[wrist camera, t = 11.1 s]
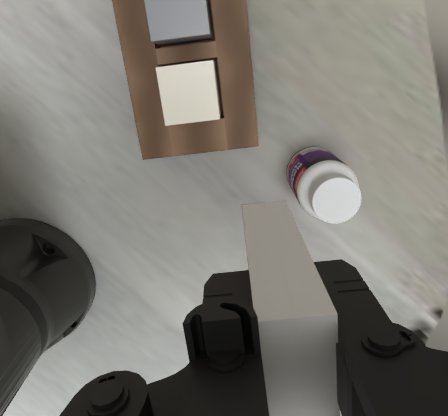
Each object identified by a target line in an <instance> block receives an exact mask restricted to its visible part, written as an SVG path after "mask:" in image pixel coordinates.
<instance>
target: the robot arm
mask: <svg viewBox="0 0 448 416" xmlns="http://www.w3.org/2000/svg"><path fill="white" fill-rule="evenodd" d="M242 214H243V223H244V232H245V242H246V251H247V260H248V269H249V270H246V271H236V272H226V273H217V274H213V275H212V276H211V277H210V278H209V280H208V281H207V282H206V283H205V285H204V295H203V297H204V298H203V304H202V305H199V306H197V307H195V308H194V309H193V310H192V311H191V312H190V313H189V314H187V316H186V318H185V320H184V322H183V328H184V333H185V339H186V344H187V350H188V355H189V361H190V362H189V364H188V365H187V366H186V367H185V368H183V369H182V370H180V371H179V372H177V373H176V374H174V375H171V376H169V377H167V378H164V379H161V380H159V381H156V382H153V383H150V384H146V381H145V380H144V379H143V378H142V377H141V376H140V375H139V374H137V373H134V372H130V371H113V372H110V373H107V374H104V375H101V376H99V377H97V378H95V379H94V380H92V381H90V382H89V383H87V384H86V385H85V386H84V387H83V388H82V389H81V390H80V391H79V392H78V393H77V394H76V395H75V396H74V397H73V398H72V400H71V401H70V402H69V404H68V405H67V406H66V408H65V409H64V410H63V412H62V413H61V414H60V416H340V411H341V414H342V416H448V352H446V351H440V350H436V349H431V348H428V347H426V346H425V344H424V343H423V342H422V340H421V339H420V338H419V337H418V336H417V335H416V334H414V333H413V332H412V331H411V330H409V329H407V328H405V327H403V326H401V325H399V324H395V323H392V322H391V320H390V319H389V317H388V316H387V314H386V313H385V311H384V310H383V308H382V307H381V305H380V304H379V302H378V301H377V299H376V298H375V296H374V295H373V293H372V292H371V290H369V287H368V286H367V284H366V283H365V281H363V278H362V277H361V275H360V274H359V272H358V271H357V269H356V268H355V267H353V266H352V265H350V264H348V263H347V262H345V261H343V260H342V259H341V260H331V261H321V262H313V260H312V258H311V256H310V254H309V251H308V249H307V247H306V245H305V243H304V241H303V239H302V236H301V234H300V232H299V230H298V228H297V226H296V223H295V221H294V219H293V217H292V215H291V213H290V211H289V208H288V206H287V204H286V202H285V200H283V201H273V202H264V203H255V204H246V205H242ZM94 295H95V277H94V272H93V269H92V266H91V264H90V262H89V260H88V258H87V256H86V255H85V253H84V252H83V251H82V249H81V248H80V247H79V246H78V245H77V244H76V243H75V242H74V241H73V240H72V239H71V238H70V237H69V236H67V235H66V234H64V233H63V232H61V231H60V230H58V229H56V228H54V227H52V226H50V225H47V224H45V223H42V222H38V221H34V220H28V219H8V220H3V221H0V416H2V415H3V414H4V412H5V411H6V409H7V407H8V406H9V404H10V403H11V401H12V400H13V398H14V396H15V395H16V393H17V392H18V390H19V389H20V387H21V385H22V384H23V382H24V381H25V379H26V378H27V376H28V374H29V373H30V371H31V370H32V368H33V366H34V365H35V363H36V362H37V360H38V359H39V357H40V356H41V354H42V353H43V352H44V351H46V350H47V349H49V348H50V347H52V346H53V345H54V344H56V343H57V342H59V341H60V340H61V339H63V338H64V337H66V336H67V335H68V334H70V333H71V332H72V331H73V330H75V329H76V327H77V326H78V325H79V324H80V323H81V322H82V320H83V319H84V317H85V315H86V314H87V312H88V310H89V308H90V307H91V304H92V302H93V299H94Z"/></svg>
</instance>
